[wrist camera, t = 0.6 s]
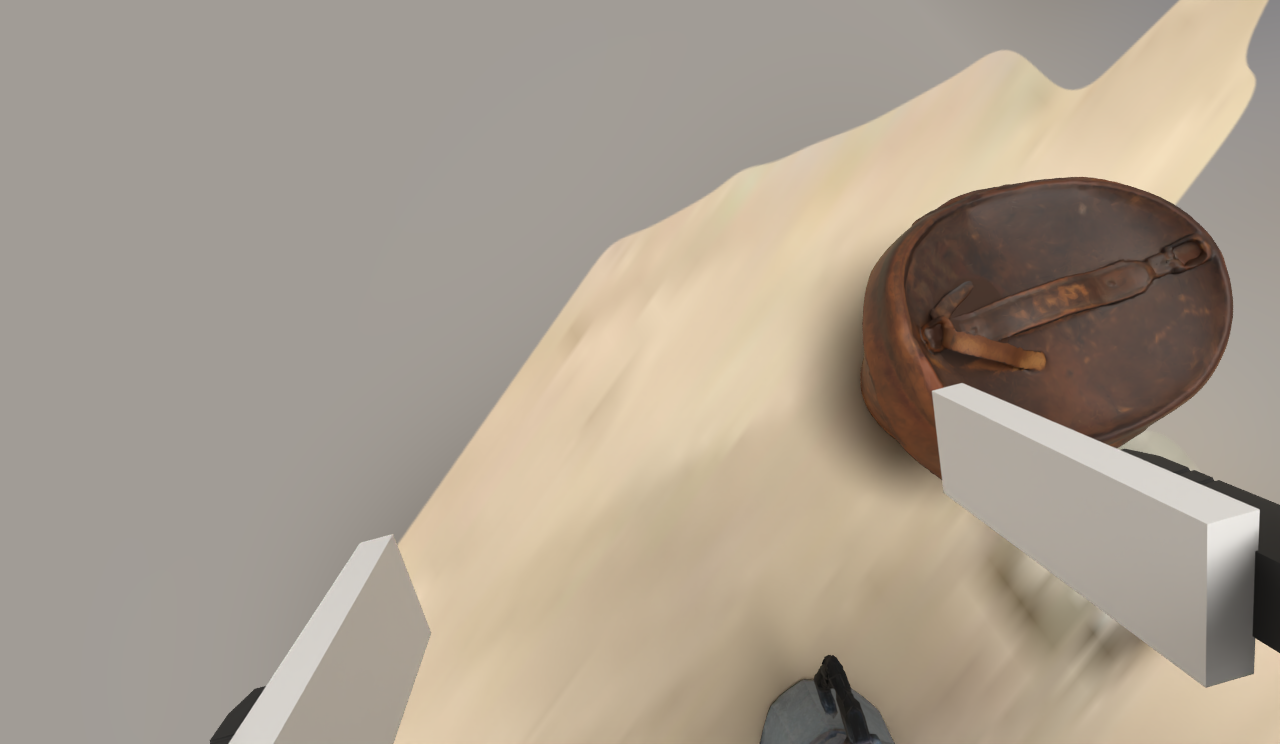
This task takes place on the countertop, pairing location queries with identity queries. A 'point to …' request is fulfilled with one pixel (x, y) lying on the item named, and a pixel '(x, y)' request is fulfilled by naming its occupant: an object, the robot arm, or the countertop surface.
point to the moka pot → (824, 712)
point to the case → (1045, 310)
